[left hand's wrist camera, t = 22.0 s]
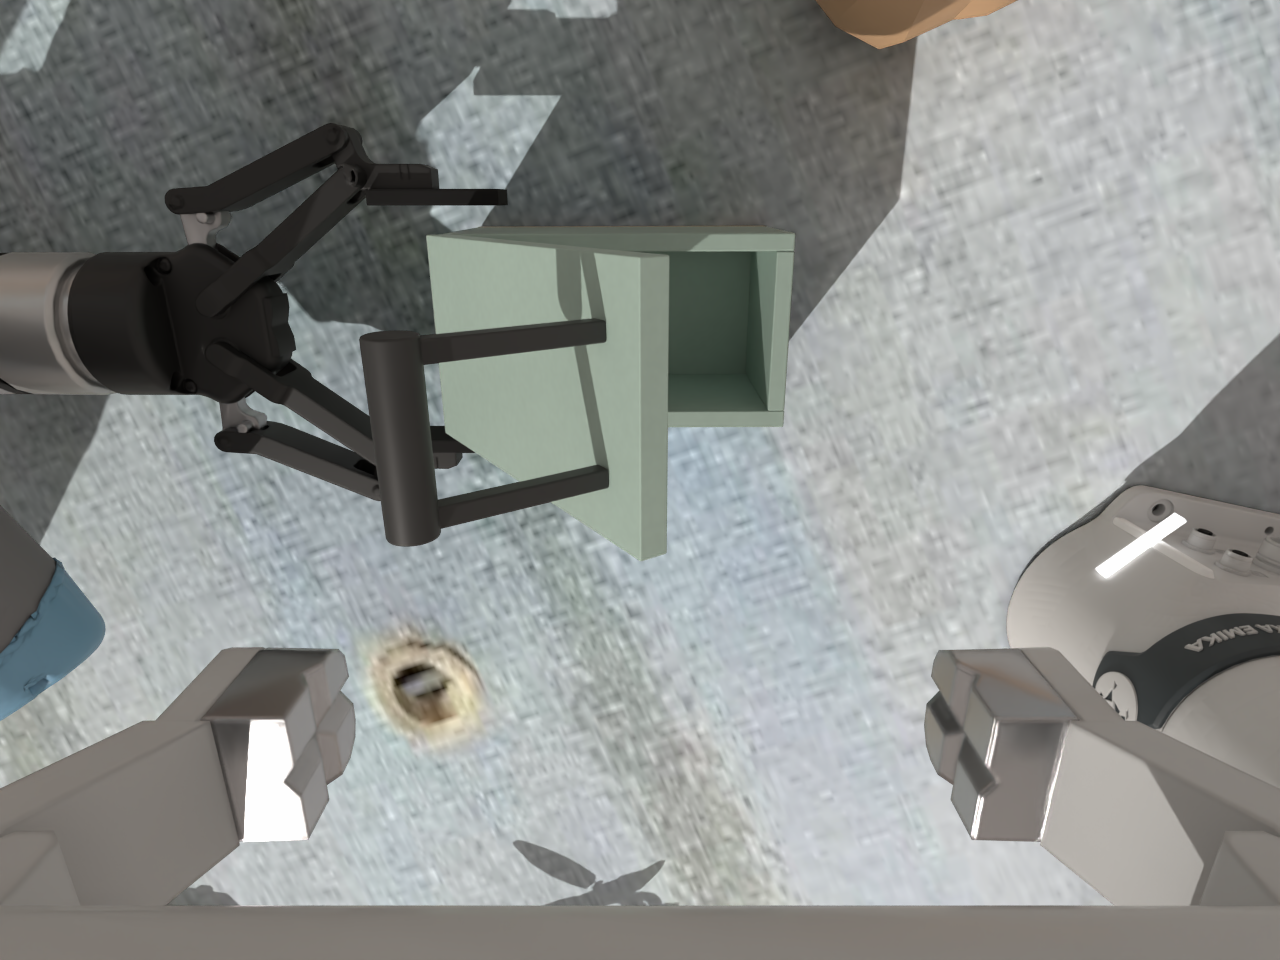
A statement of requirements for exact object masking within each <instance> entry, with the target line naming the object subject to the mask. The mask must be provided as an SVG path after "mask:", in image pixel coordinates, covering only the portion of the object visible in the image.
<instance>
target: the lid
mask: <svg viewBox="0 0 1280 960" xmlns="http://www.w3.org/2000/svg"><path fill="white" fill-rule="evenodd" d="M426 239H427V249H428V259H429V269H430V280H431V290H432V300H433V310H434V320H435V330H436V334H432V335H422V336H420V334H419V333H416V332H413V331H380V332H373V333H368V334H365V335H362V336H361V337H360V339H359V341H360V349H361V356H362V363H363V371H364V378H365V386H366V393H367V401H368V408H369V416H370V423H371V430H372V438H373V445H374V453H375V460H376V468H377V475H378V483H379V490H380V497H381V505H382V512H383V520H384V527H385V535H386V539H387V541H388V542H389V543H391V544H393V545H396V546H418V545H422V544H426V543H429V542H431V541H433V540H435V539H436V538H438V537H439V535H440V533H441V529H442V528H446V527H450V526H454V525H458V524H462V523H466V522H470V521H475V520H479V519H483V518H487V517H491V516H495V515H499V514H503V513H507V512H512V511H516V510H520V509H524V508H528V507H532V506H536V505H540V504H545V503H549V502H551V503H553V504H554V505H556V506H557V507H559V508H560V509H562V510H563V511H565V512H566V513H568V514H569V515H571V516H572V517H574V518H575V519H577V520H579V521H580V522H582V523H583V524H585V525H586V526H588V527H589V528H591V529H592V530H594V531H595V532H597V533H598V534H600V535H601V536H603V537H604V538H606V539H607V540H609V541H610V542H612V543H613V544H615V545H616V546H618V547H619V548H621V549H623V550H624V551H626V552H627V553H629V554H630V555H632V556H633V557H635V558H636V559H638V560H639V561H644V560H647V559H650V558H653V557H657V556H660V555H663V554H666V552H667V452H668V351H669V255H663V254H652V253H641V252H631V251H620V250H610V249H599V248H588V247H578V246H567V245H557V244H546V243H535V242H525V241H514V240H504V239H493V238H482V237H472V236H461V235H451V234H437V235H426ZM435 363H439V371H440V381H441V391H442V402H443V412H444V422H445V432H446V433H447V434H448V435H450V436H451V437H453V438H454V439H456V440H457V441H459V442H460V443H462V444H463V445H465V446H466V447H468V448H469V449H471V450H472V451H474V452H475V453H477V454H478V455H480V456H481V457H483V458H485V459H486V460H488V461H489V462H491V463H492V464H494V465H495V466H497V467H498V468H500V469H501V470H503V471H504V472H506V473H507V474H509V475H510V476H512V477H513V478H515V479H516V480H518V481H519V482H516V483H512V484H507V485H503V486H498V487H494V488H489V489H485V490H480V491H476V492H471V493H467V494H462V495H458V496H453V497H449V498H444V499H440V500H438V498H437V489H436V479H435V470H434V460H433V451H432V441H431V432H430V422H429V413H428V403H427V394H426V385H425V375H424V366H423V365H427V364H435Z"/></svg>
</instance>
